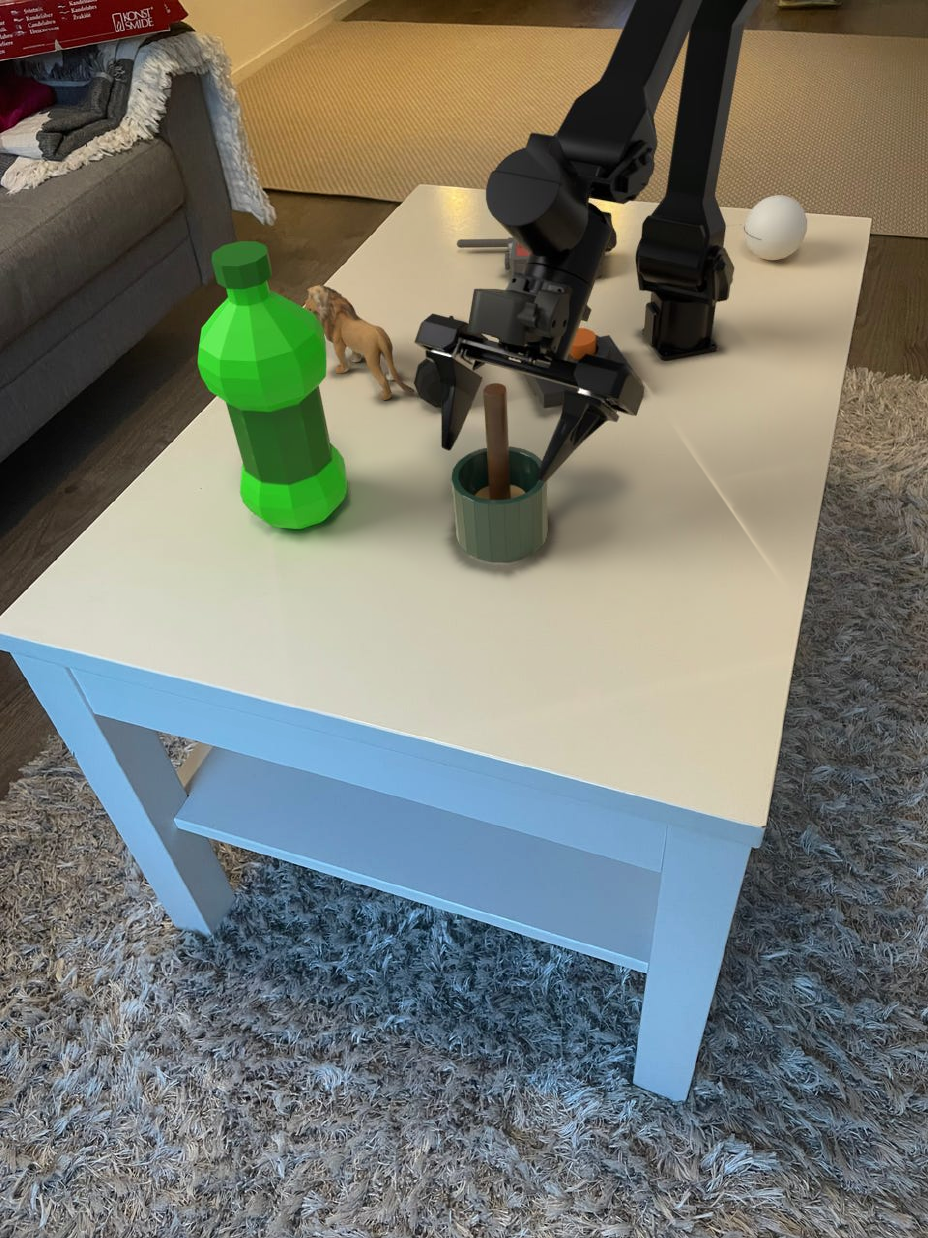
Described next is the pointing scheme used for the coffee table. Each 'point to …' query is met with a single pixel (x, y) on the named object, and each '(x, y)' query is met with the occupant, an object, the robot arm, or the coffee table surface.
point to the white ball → (775, 227)
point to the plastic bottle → (272, 392)
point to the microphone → (428, 382)
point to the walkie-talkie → (512, 258)
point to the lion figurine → (353, 336)
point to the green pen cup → (500, 508)
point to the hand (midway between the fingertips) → (492, 464)
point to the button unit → (605, 348)
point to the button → (583, 343)
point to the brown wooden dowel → (497, 445)
